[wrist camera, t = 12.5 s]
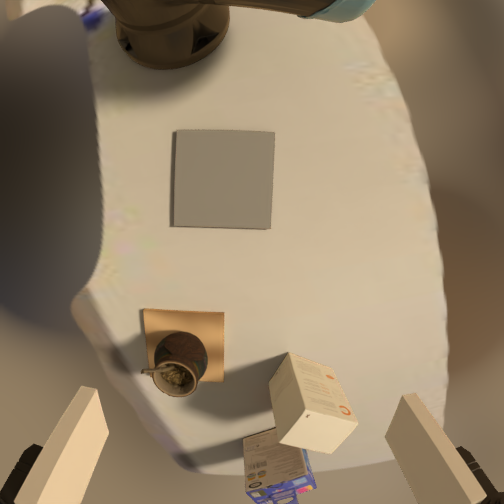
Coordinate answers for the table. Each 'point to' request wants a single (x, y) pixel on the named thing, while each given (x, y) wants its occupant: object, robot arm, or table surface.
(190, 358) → the mate gourd
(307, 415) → the small box
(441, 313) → the table surface
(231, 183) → the felt pad
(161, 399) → the table surface
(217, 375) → the square wooden coaster
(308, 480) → the ink cartridge box
